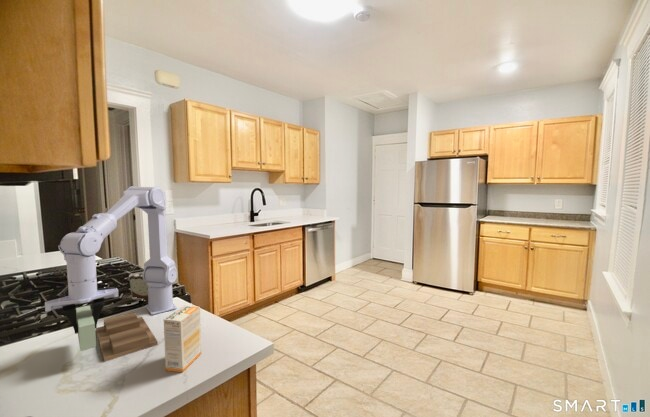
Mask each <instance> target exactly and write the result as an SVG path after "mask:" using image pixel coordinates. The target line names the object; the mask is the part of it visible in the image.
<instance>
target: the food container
mask: <svg viewBox="0 0 650 417" xmlns="http://www.w3.org/2000/svg"><path fill="white" fill-rule="evenodd" d="M142 275H143V271H139V272H135V273H130V274H129V275H128V278H127V281H129V288H130V293H131V294H130V295H131V298H132V297H137V298H144V299H145V300H146V301H148V287H149V286H147V283H146V282H144V280H143V276H142Z"/></svg>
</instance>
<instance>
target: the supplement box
mask: <svg viewBox="0 0 650 417" xmlns="http://www.w3.org/2000/svg"><path fill="white" fill-rule="evenodd" d="M201 325H202V324H201V307H200V306H197V305H196V306H193V305H183V306H181V307H180V308H179V309H177V310H175V311H174V312H173V313H171V314H169V315H168V316H166V317H165V318H163V330H164V331H163V333H164V358H165V370H166V371H169V372H175V373H176V372H178V373H184V372H185V371H186V370H187V369H188V368H189V367H190V366H191V364H192V363H194V362H195V360H196V359H197V358H198V357H199V356H200V355H201V354H202V332H201V330H202V329H201Z"/></svg>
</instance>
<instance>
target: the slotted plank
mask: <svg viewBox="0 0 650 417" xmlns="http://www.w3.org/2000/svg"><path fill="white" fill-rule="evenodd" d="M95 334H96V336H97V340H98V343H99V347H100V348H99V349H100V351H101V354H102V358H103V362H108V361H112V360H114V359H117V358H120V357H123V356H126V355H130V354H132V353H133V354H134V353H136V352H139V351H142V350H145V349H149V348H151V347H155V346H158V340H157V338H156V337H155V335H154V332H152V330H151V329H150V327H149V325H148V324H147V323H146V321H145V319H144V318H143V316H137V314H136V313H135V312H131V313H126V314H122V315H118V316H114V317H113V316H112V317H110V318H105V319H103V326H99V327H97V328H96V329H95Z"/></svg>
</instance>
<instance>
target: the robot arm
mask: <svg viewBox="0 0 650 417" xmlns="http://www.w3.org/2000/svg"><path fill="white" fill-rule="evenodd" d="M166 204H167V202H166V192H165V191H164V190H163V189H162V188H161V187H159V186H135V185H132V186H129V187H128V188H127V189H126V190H123V194H122V197H120V199H119V200H117V202H115V203H114V205H112V206H111V207H110V208H109V209H108V210H107V211H106V212H99V213H94V214H93V215H92V216H91V217H92V218H91V219H90V220H88V221H87V222H85V223H84V224H83V225H82V226H79V227H78V229H76V231H73V232H70V233H67V234H65V235H64V236H63V237H62V239H61V240H60V243H59V245H58V246H57V247H58V251H59V252H60V253H61V254H62V255H63V259H64V261H65V262H66V274H67V275H66V276H67V287H68V295H66V296H63V297H59V298H56V299H51V300H48V301H45V302H44V310H45V312H46V313H48V312H51V311H52V310H56V309H57V310H58V309H61V308H62V312H63V314H64V316H66V318H67V320H69V322H70V324H71V325H72V328H73V331H74V334H75V335H76V334H77V335H78V324H77V315H76V308H77V306H76V305H81V304H86V303H90V302H91V311H92V315H93V319H94V322H95V330H96V328H98V327H97V326H98V321H99V318H100V315H101V312H102V310H103V309H104V306H105V303H106V302H105V300H106V299H109V298H110V299H111V298H119V290H118V288H117V287H114V288H108V289H98V280H97V278H98V277H97V264H96V262H97V261H96V259H97V258H96V254H97V253H98V252H99V251H100V249H101V247H102V243H103V242H104V239H105V238H107V237H108V236H109V235H110V234H111V233H112V232H113V231H115V229H117V226H118V223H117V221H119V220H120V219H121V218H123V217H124V216H126V215H127V214H128V213H129V212H131V211H132V210H133V209H134V208H137V209H141V210H142V211H143V212H144V213H145V214H147V228H148V248H149V259H147V261H145V263H144V264H143V271H142V272H143V275H142V276H143V280H144V282H146V283H147V286H149V287H148V302H147V304H146V305H144V306H145V308H146V309H147V311H148V312H149V314H150V316H151V315H153V316H154V315H157V314H160V313H161V314H162V313H164V312H169V311H172V310H176V309H177V306H176V305H175V304H174V303H173V300H174V299H173V284H174V283H175V281H176V280H177V277H178V270H177V267H176V262H175V261H174V260H173V259H172V258H170V257H169V256H168V242H167V237H168V236H167V220H166V219H167V218H166V216H167V215H166V214H167V213H166V209H167V207H166Z"/></svg>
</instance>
